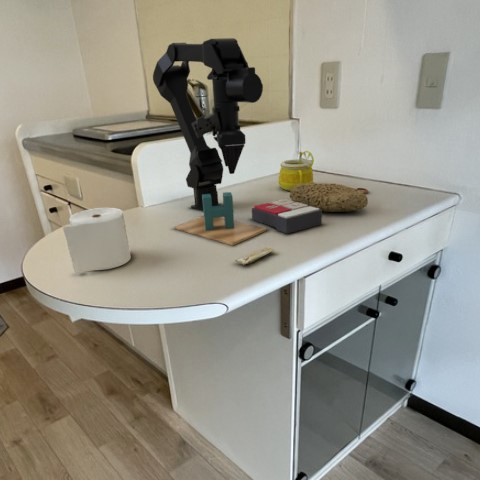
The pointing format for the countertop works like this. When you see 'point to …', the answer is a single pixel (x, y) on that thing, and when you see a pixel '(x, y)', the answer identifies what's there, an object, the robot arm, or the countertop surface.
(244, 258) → the snack bar
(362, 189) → the key
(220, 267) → the countertop surface
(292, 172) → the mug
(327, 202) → the sponge
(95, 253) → the toilet tissue
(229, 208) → the letter H
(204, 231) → the wooden board
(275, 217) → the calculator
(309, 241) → the countertop surface
